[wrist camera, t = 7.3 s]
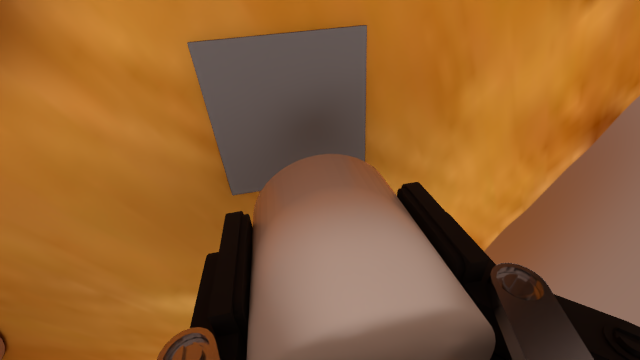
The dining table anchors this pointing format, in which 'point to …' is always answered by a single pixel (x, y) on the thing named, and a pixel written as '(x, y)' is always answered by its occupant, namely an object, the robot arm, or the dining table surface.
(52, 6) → the dining table surface
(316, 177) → the pale grey cylinder
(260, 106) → the coaster
